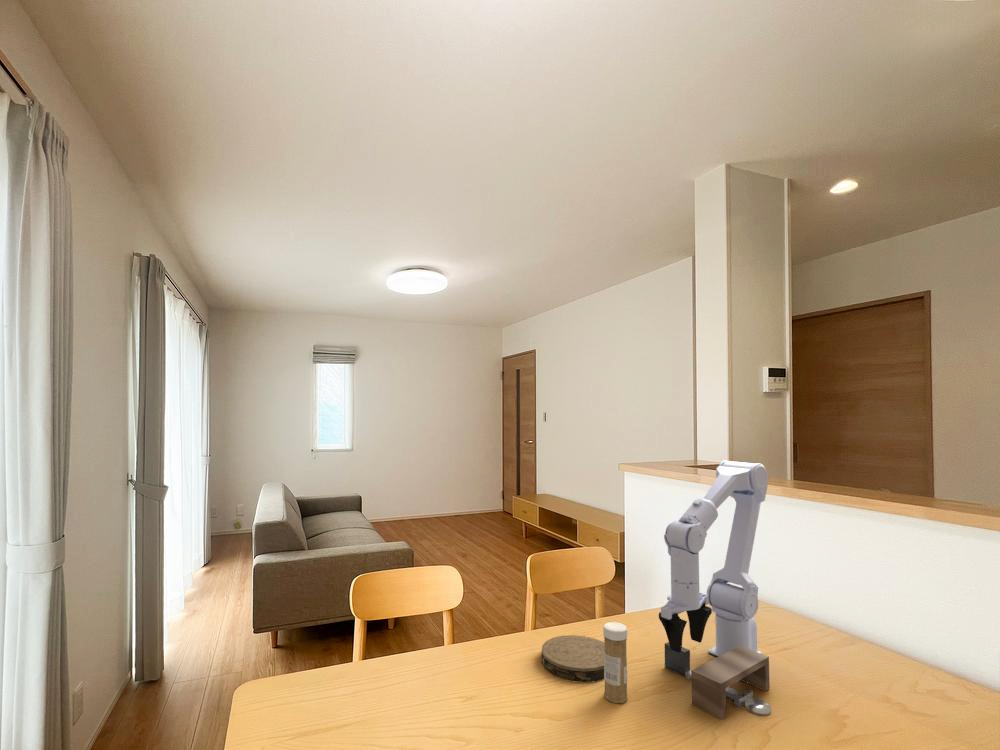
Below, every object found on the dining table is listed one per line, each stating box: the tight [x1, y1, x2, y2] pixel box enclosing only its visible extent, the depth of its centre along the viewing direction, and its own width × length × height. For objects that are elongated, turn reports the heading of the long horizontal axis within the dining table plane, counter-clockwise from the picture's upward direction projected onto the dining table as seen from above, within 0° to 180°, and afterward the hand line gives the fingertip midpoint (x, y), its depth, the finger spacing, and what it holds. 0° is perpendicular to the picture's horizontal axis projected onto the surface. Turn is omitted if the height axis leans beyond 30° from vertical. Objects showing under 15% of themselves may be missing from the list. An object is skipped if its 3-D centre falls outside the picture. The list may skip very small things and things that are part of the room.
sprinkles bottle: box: [602, 621, 629, 704], centre depth 100 cm, size 5×5×13 cm
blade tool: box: [664, 641, 754, 708], centre depth 105 cm, size 18×5×5 cm, turn 37°
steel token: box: [744, 698, 772, 716], centre depth 96 cm, size 4×4×1 cm
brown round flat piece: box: [541, 634, 605, 683], centre depth 113 cm, size 16×16×3 cm
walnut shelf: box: [690, 646, 771, 720], centre depth 101 cm, size 18×6×6 cm, turn 127°
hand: (686, 645), depth 109 cm, fingers open, 7 cm apart
